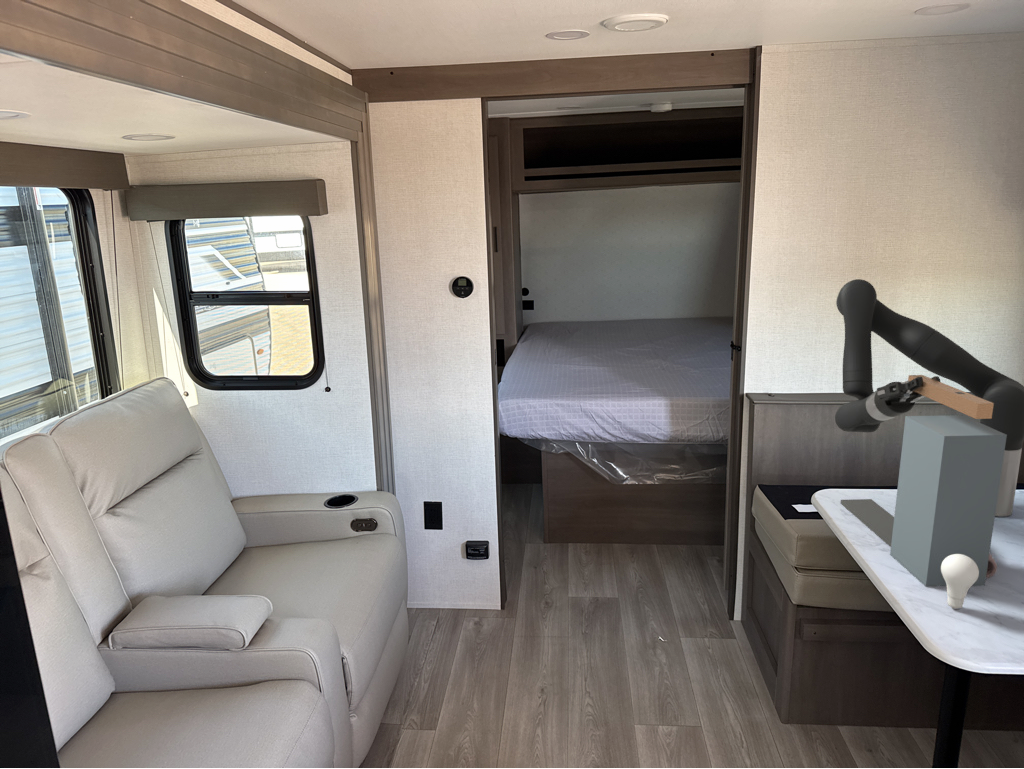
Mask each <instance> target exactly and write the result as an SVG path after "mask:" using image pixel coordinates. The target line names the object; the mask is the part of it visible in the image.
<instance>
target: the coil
mask: <svg viewBox="0 0 1024 769" xmlns="http://www.w3.org/2000/svg"><path fill="white" fill-rule="evenodd" d="M997 570H998V565H997V562H996V561H995V559H994V558H993V556H992V555H991V553H989V560H988V567H987V574H986V579H989V578H991V577H994V576H995V574H996V573H997Z"/></svg>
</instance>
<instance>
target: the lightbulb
mask: <svg viewBox="0 0 1024 769" xmlns="http://www.w3.org/2000/svg"><path fill="white" fill-rule="evenodd" d="M941 573H942V575H943V578H944V580H945V581H946V585H947V586H946V593H947V605H948V606H949V607H951V608H952V609H955V610H957V609H962V608H963V606H964V602H965V599H966V598H967V594H968V591H969V590H970V588H971V587H973V586H972V585H973V584H974V583H975V582H976V580H977V579H978V576H979V570H978V567H977V565H976V563H975V562H974V561H973V560H972V559H971V558H969V557H968V556H965V555H962V554H953V555H950V556H948V557H946V558H945V559H944V560H943V562H942V564H941Z"/></svg>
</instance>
